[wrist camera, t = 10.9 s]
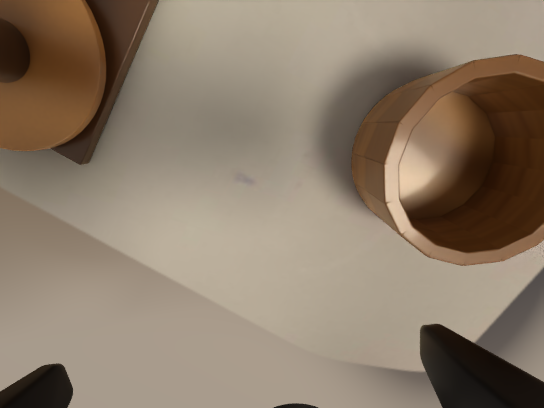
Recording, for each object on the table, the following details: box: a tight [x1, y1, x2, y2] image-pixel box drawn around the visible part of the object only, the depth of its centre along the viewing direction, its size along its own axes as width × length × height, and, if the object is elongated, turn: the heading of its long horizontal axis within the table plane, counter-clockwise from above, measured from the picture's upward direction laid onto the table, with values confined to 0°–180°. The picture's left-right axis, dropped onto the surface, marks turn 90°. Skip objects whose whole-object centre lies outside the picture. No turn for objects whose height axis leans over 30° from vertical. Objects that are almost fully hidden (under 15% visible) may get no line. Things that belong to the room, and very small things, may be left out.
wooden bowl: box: [351, 54, 544, 266], centre depth 15 cm, size 9×9×6 cm
